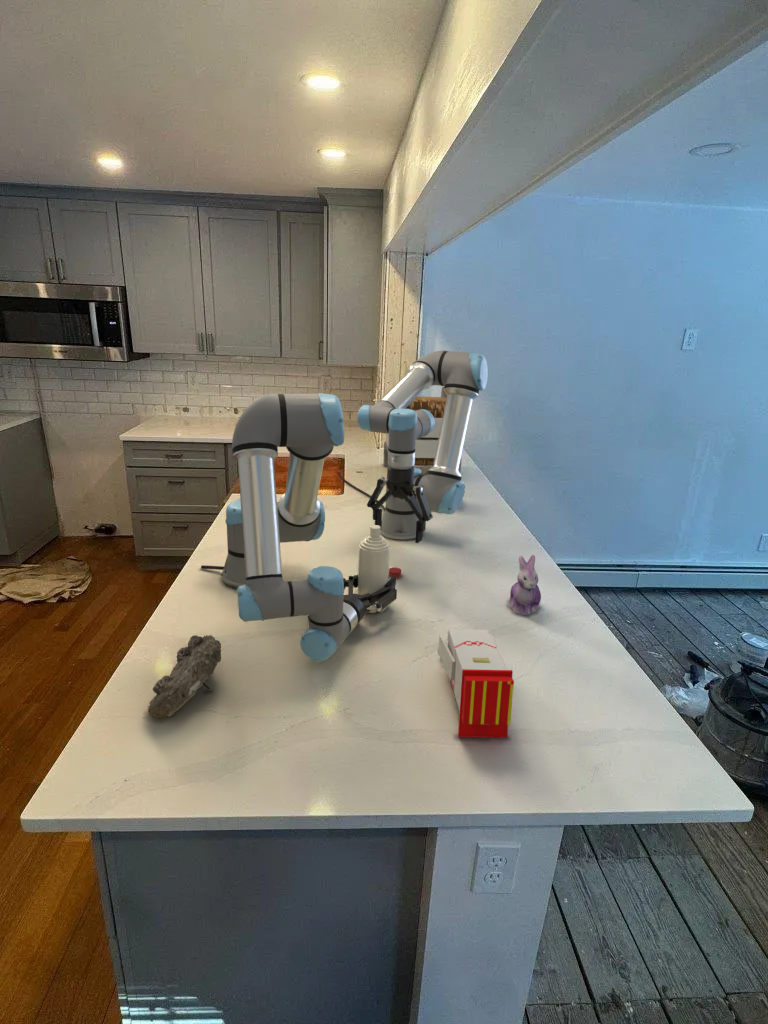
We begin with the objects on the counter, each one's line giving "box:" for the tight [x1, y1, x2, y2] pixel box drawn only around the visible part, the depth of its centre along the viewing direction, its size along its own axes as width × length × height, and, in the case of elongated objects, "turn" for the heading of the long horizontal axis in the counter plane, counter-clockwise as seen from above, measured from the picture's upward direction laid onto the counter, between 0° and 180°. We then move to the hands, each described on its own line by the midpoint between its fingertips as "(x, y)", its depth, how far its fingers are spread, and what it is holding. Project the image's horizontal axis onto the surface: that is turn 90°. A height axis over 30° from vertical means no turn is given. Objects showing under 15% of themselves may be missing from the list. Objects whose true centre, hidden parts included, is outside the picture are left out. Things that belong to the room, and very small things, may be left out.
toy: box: [437, 628, 515, 738], centre depth 117 cm, size 12×13×30 cm
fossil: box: [147, 634, 222, 719], centre depth 114 cm, size 22×10×15 cm
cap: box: [389, 566, 402, 579], centre depth 168 cm, size 4×4×2 cm
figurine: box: [508, 554, 542, 616], centre depth 151 cm, size 9×10×15 cm
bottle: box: [356, 524, 391, 614], centre depth 147 cm, size 8×8×22 cm
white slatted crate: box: [383, 386, 463, 475], centre depth 268 cm, size 34×33×41 cm
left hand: (379, 576), depth 153 cm, fingers closed on bottle, 8 cm apart
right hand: (398, 536), depth 165 cm, fingers open, 13 cm apart
